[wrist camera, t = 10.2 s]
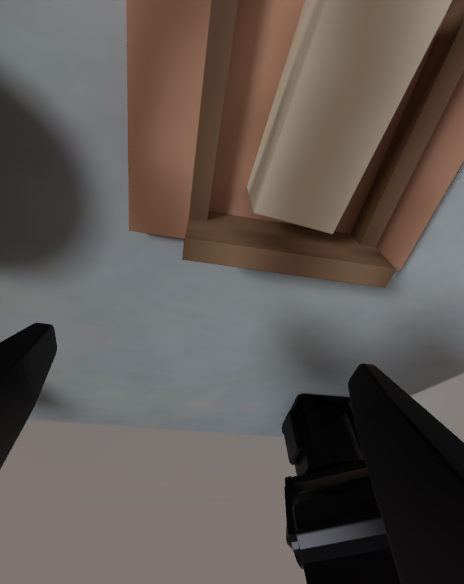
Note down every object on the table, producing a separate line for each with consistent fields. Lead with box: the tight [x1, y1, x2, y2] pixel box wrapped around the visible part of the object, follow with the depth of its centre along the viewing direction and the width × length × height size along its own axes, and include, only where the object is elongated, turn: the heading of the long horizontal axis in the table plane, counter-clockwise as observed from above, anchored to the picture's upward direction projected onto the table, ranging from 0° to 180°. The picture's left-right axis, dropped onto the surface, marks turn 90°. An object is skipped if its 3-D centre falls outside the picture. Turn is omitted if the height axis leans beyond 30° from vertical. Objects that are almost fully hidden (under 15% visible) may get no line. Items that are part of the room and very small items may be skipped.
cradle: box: [126, 0, 464, 288], centre depth 14 cm, size 18×17×5 cm
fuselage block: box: [247, 0, 452, 234], centre depth 13 cm, size 4×10×4 cm, turn 164°
